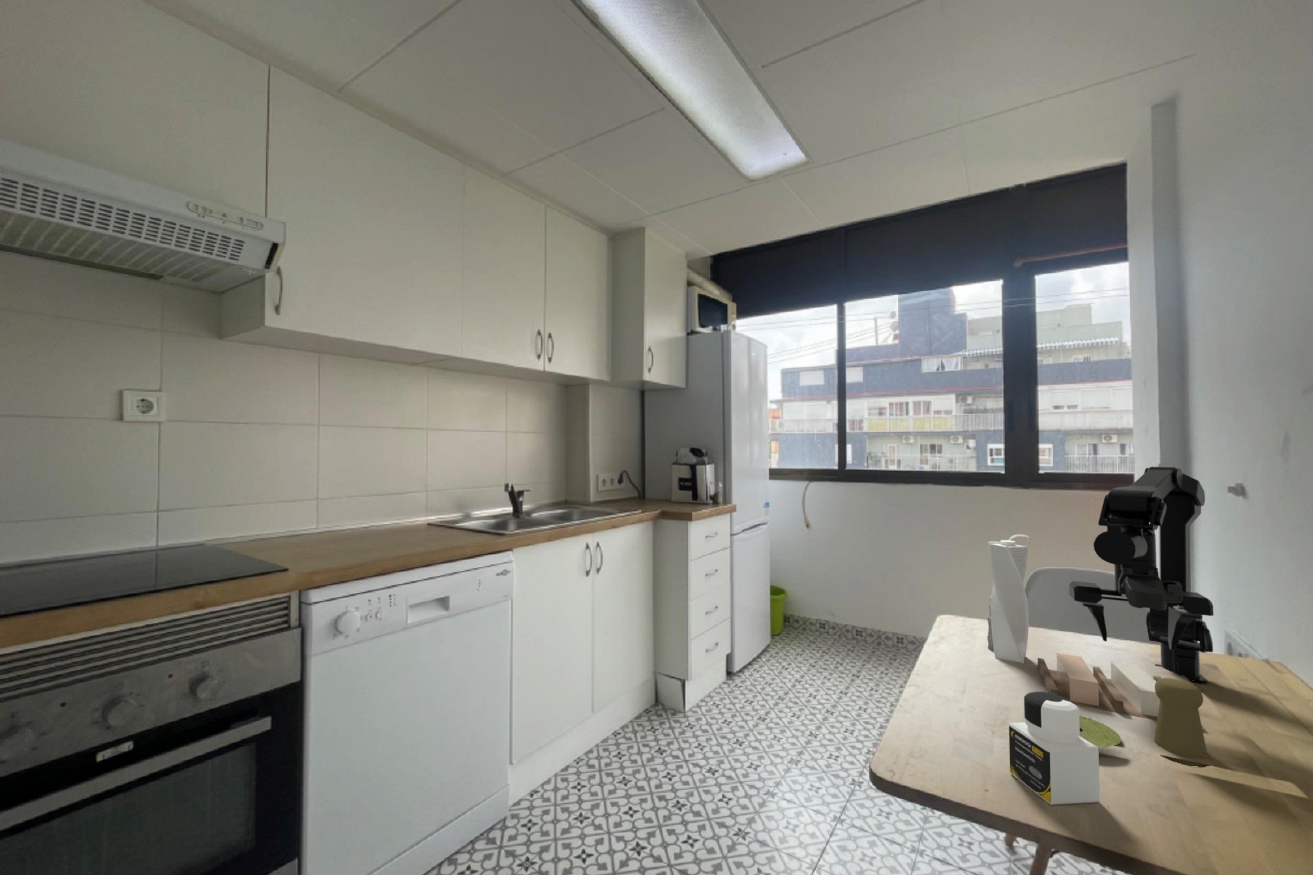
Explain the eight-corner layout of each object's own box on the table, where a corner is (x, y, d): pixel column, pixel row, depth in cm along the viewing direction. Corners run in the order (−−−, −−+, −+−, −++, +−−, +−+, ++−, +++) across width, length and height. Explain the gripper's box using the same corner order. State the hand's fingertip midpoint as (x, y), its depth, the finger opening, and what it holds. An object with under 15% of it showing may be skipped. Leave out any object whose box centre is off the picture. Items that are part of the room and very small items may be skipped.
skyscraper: (1032, 659, 117) (1029, 532, 118) (1034, 672, 110) (1031, 537, 111) (987, 652, 121) (984, 530, 122) (987, 663, 114) (984, 534, 116)
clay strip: (1111, 682, 102) (1110, 661, 103) (1137, 685, 101) (1137, 664, 101) (1141, 713, 90) (1140, 690, 90) (1172, 718, 88) (1171, 694, 88)
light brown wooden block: (1057, 672, 107) (1056, 652, 107) (1082, 677, 105) (1081, 656, 105) (1070, 700, 95) (1069, 677, 95) (1098, 705, 93) (1098, 682, 93)
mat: (1015, 729, 87) (1015, 717, 87) (1057, 716, 91) (1057, 704, 91) (1094, 766, 77) (1094, 752, 77) (1137, 749, 81) (1137, 736, 81)
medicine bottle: (1008, 773, 75) (1006, 687, 75) (1055, 770, 75) (1053, 685, 76) (1050, 806, 68) (1047, 711, 68) (1101, 803, 68) (1098, 709, 69)
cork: (1221, 769, 76) (1218, 691, 76) (1172, 764, 77) (1169, 688, 77) (1188, 747, 82) (1185, 674, 82) (1143, 742, 83) (1140, 671, 83)
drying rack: (1038, 673, 110) (1037, 657, 110) (1160, 693, 100) (1160, 676, 100) (1051, 706, 95) (1050, 688, 95) (1196, 734, 85) (1195, 714, 86)
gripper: (1079, 560, 94) (1081, 649, 93) (1226, 572, 85) (1230, 671, 84) (1067, 551, 103) (1069, 631, 103) (1198, 560, 94) (1201, 649, 94)
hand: (1137, 645), depth 96 cm, fingers open, 9 cm apart
